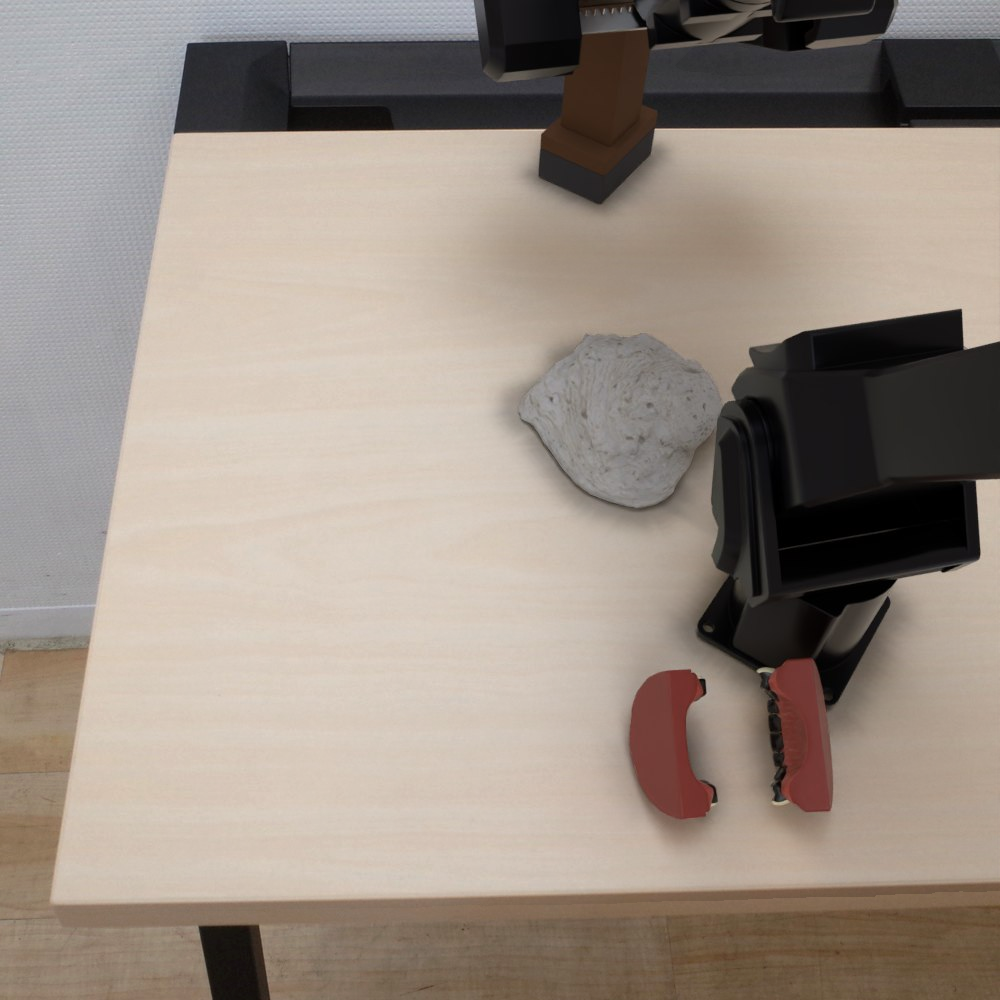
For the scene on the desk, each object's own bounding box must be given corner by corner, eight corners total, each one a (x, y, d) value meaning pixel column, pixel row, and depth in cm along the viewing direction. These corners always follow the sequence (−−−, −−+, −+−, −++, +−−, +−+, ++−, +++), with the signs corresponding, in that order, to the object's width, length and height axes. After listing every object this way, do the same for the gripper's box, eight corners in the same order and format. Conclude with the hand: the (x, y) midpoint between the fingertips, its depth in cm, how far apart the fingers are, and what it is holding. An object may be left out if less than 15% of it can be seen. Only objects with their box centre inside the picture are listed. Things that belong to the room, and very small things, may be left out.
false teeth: (632, 811, 44) (830, 795, 44) (646, 826, 40) (865, 810, 40) (620, 670, 45) (814, 655, 45) (632, 671, 40) (847, 655, 41)
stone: (528, 302, 55) (729, 298, 53) (544, 368, 59) (732, 368, 56) (487, 447, 49) (710, 452, 47) (507, 511, 53) (716, 519, 50)
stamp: (600, 205, 64) (628, -10, 53) (537, 176, 65) (552, -38, 55) (651, 153, 67) (686, -59, 56) (590, 127, 68) (613, -85, 58)
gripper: (966, -326, 41) (786, -148, 56) (479, -302, 38) (428, -121, 53) (982, -12, 43) (804, 78, 58) (520, 34, 40) (460, 116, 55)
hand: (630, 34), depth 56 cm, fingers open, 9 cm apart
